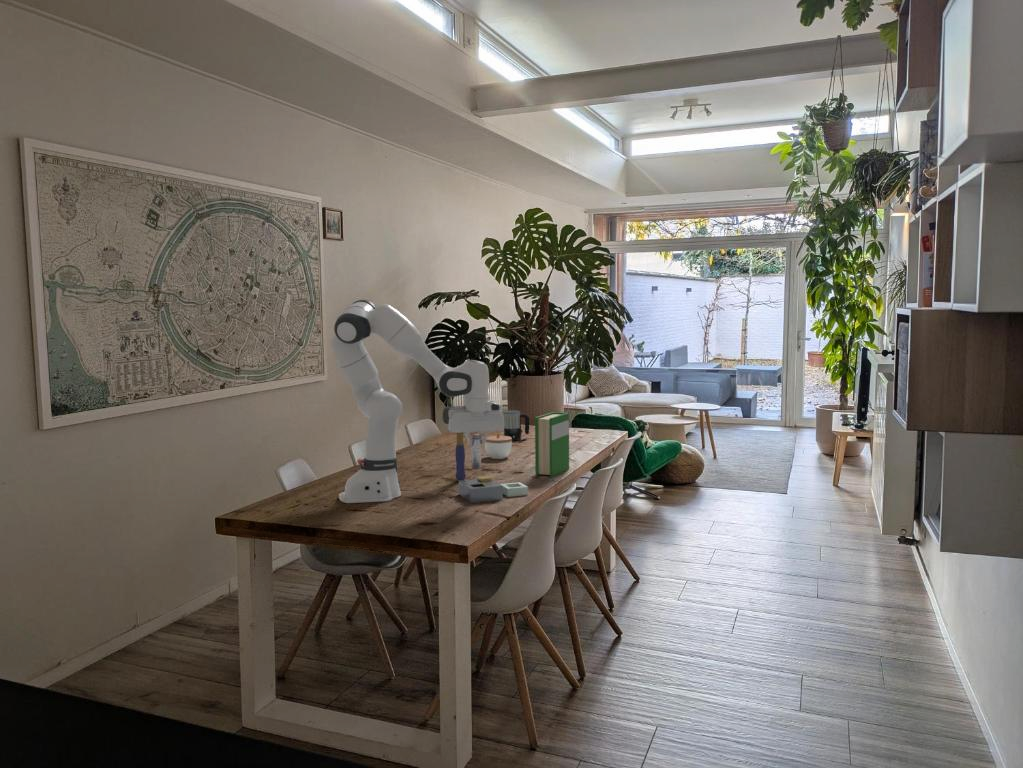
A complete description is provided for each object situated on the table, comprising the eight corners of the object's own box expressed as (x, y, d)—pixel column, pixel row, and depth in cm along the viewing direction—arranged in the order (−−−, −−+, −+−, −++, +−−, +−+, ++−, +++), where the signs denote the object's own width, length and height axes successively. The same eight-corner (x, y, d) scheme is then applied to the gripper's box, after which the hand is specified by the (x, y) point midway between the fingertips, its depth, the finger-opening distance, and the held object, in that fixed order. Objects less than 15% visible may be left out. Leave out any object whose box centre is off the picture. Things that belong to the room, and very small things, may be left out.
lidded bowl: (513, 455, 359) (513, 431, 358) (510, 460, 347) (510, 436, 346) (486, 454, 361) (486, 431, 360) (482, 460, 348) (482, 436, 347)
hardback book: (552, 477, 312) (551, 418, 309) (535, 475, 315) (535, 417, 313) (569, 468, 327) (568, 412, 325) (553, 467, 331) (552, 411, 328)
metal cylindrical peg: (473, 469, 274) (473, 435, 273) (470, 467, 277) (470, 434, 276) (482, 468, 275) (482, 435, 274) (479, 466, 278) (479, 433, 277)
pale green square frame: (507, 496, 280) (507, 488, 280) (500, 492, 287) (500, 484, 287) (528, 494, 283) (527, 486, 282) (520, 489, 290) (520, 482, 290)
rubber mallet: (442, 482, 305) (441, 407, 302) (448, 478, 312) (447, 404, 309) (473, 483, 302) (471, 407, 299) (478, 479, 309) (477, 405, 306)
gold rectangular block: (481, 495, 282) (480, 479, 282) (477, 492, 286) (477, 476, 286) (492, 494, 284) (492, 478, 283) (488, 491, 288) (488, 475, 287)
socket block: (470, 502, 272) (470, 488, 271) (459, 494, 285) (458, 480, 284) (502, 499, 276) (502, 485, 276) (489, 491, 289) (489, 477, 289)
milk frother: (508, 441, 395) (508, 413, 394) (494, 437, 409) (494, 409, 408) (532, 439, 402) (532, 411, 401) (517, 435, 416) (517, 407, 414)
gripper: (451, 407, 267) (450, 447, 268) (506, 405, 274) (505, 444, 276) (445, 405, 273) (445, 444, 274) (500, 403, 280) (499, 441, 282)
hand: (476, 444), depth 275 cm, fingers closed on metal cylindrical peg, 3 cm apart
